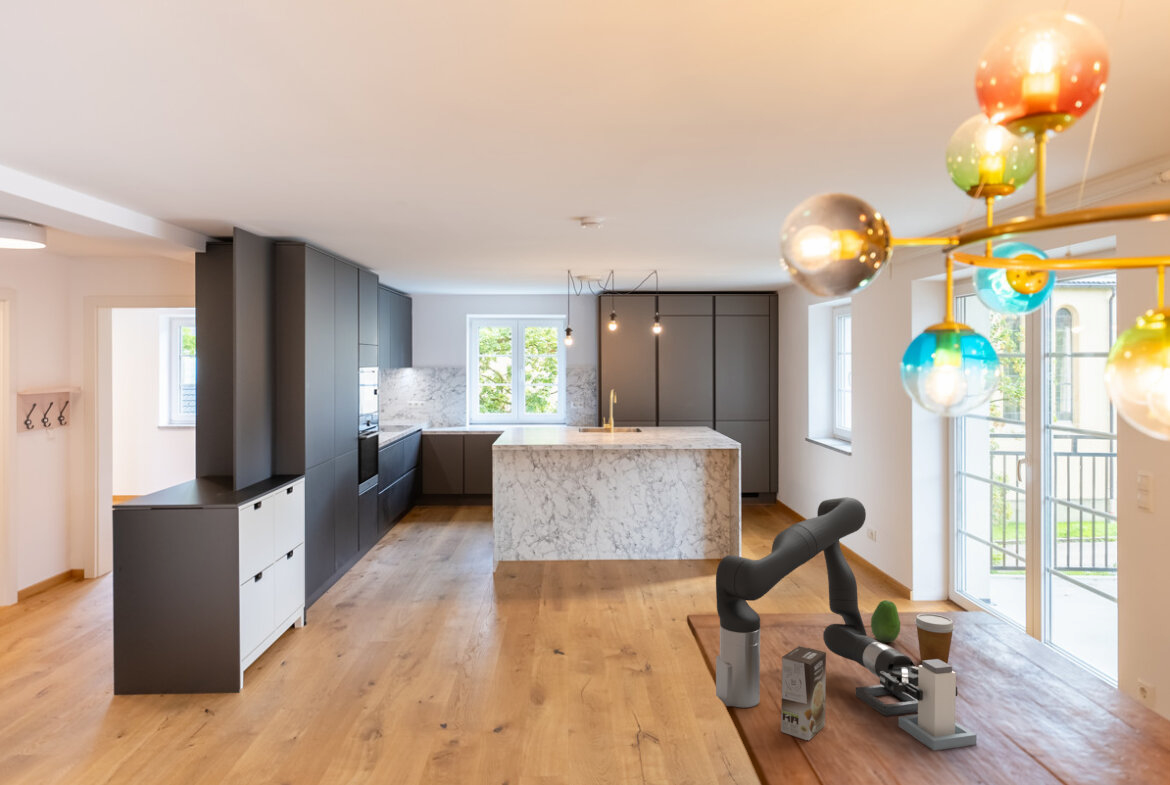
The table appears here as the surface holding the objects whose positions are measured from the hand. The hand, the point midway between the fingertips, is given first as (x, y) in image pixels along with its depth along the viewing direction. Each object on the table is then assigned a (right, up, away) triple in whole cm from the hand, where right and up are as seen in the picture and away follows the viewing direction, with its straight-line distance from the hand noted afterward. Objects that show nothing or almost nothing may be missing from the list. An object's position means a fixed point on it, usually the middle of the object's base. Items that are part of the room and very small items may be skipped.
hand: (938, 694), depth 146 cm
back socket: (-4, -9, +15) cm, 18 cm away
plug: (0, -9, +1) cm, 9 cm away
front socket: (0, -9, +1) cm, 9 cm away
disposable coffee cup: (+18, -9, +38) cm, 43 cm away
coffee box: (-28, -9, +3) cm, 29 cm away
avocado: (+12, -9, +54) cm, 56 cm away
